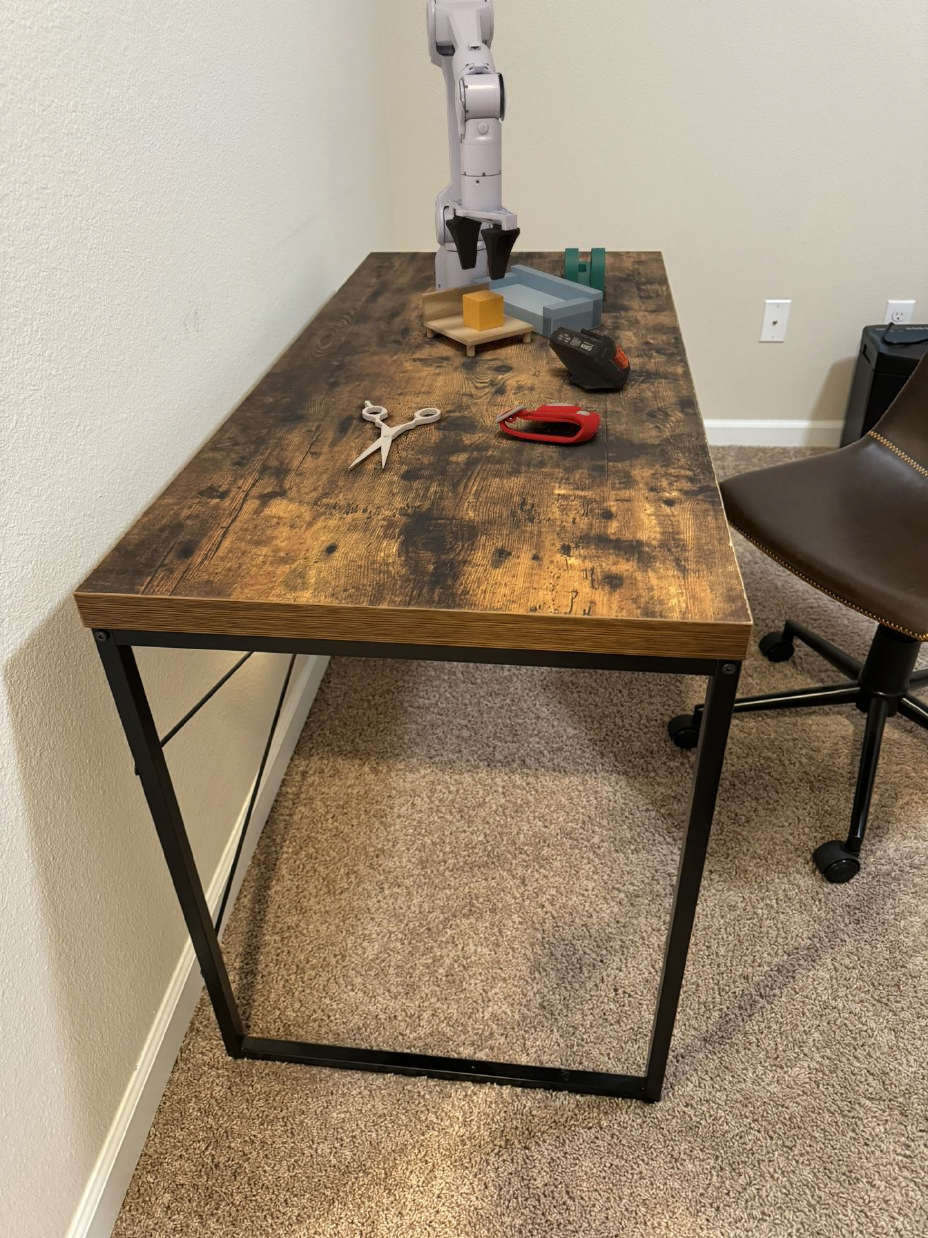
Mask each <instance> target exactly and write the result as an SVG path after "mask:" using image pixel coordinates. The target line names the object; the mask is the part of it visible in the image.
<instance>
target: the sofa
mask: <svg viewBox="0 0 928 1238" xmlns="http://www.w3.org/2000/svg"><path fill="white" fill-rule="evenodd" d="M484 281H486V282H489V291H491V292H494V293H497V294H499V295H502V296H504V314H506V315H508V316H511V317H513V318H516V319H518V320H521V321H523V322H526V323H528V324H531V325H533V326H534V331H533V332H534V333H536V334H539V335H541V336H543V337H546V338H549V339H550V335H551V334H552V332H553V331H556V330H558V328H559V327H560V326H562V327H565V328H568V329H571V330H574V331H577V332H579V333H581V329H582V328H584V329H586V330H589V331H590V330H592V329H596V328H601V327H602V313H603V301H602V296H603V292H602V291H599V290H596V289H593V288H590V287H587V286H584V285H581V284H578V283H575V282H572V281H569V280H566V279H563V277H559V276H556V275H554V274H551V273H547V272H544V271H542V270H538V269H535V268H532V267H529V266H526V265H523V264H521V263H519V264H514V265H511V266H510V272H506V273H505V277H504V278H503V279H498V280H491V279H490V275H489V276H487V277H484V278H479V279H474V280H472V284H475V283H479V282H484Z"/></svg>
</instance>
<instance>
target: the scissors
mask: <svg viewBox="0 0 928 1238" xmlns="http://www.w3.org/2000/svg"><path fill="white" fill-rule="evenodd" d="M371 413H372V414H371ZM373 413H377V414H373ZM361 415H362V418H363V419H364V420H366V421H369V422H373V423H375V427H377V428H380V429H381V431H380V437H379V438H378V439H377V440H375V441H374V442H373V443H372V444H371V445H369V447H368V448H366V450H364V451H363V452H362V453H361V454H360V455H359V456H358V457H357V458H356V459H355V460H354V461H353V462H352V463H351V464H350V465H349V467H348V469H350V468H351V467H353V466H354V465H356V464H357V463H358V462H360V461H361V460H363V459H365V458H366V457H367V456H369V455H370V454H371V453H373V452H374V451H376V450H377V449H379V448H381V449H380V450H381V462H382V463H381V464H382V469H384V468H385V464H386V462H387V459H388V456H389V453H390V450H391V446H392V441H393V440H394V439H396V438H397V437H398V436H399V435H400V434H402V433H404V432H405V431H407V430H410V429H414V428H415V427H417V426H418V425H424V424H432V423H434V422H437V421H438V420H440V418H441V410H440V409H439V408H437V407H436V408H435V407H426V408H422V409H419V410H417V411H415V412H414V413H413V420H411V421H409V422H406V423H403V424H399V425H396V426H393V427H390V426H388V425H387V424H386V423H384V422H383V421H382V420H383V419H386V418H388V416H389V415H388V410H387V409H386V408H385V407H384V406H380V405H373V404H372V403H371V400H365V401H364V408H363V409H362V412H361ZM427 415H430V416H427Z"/></svg>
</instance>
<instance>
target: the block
mask: <svg viewBox="0 0 928 1238" xmlns="http://www.w3.org/2000/svg"><path fill="white" fill-rule="evenodd" d="M463 324H464V325H466V326H468V327H471V328H473V329H475V330H477V331H484V330H488V329H492V328H497V327H501V326H504V296H502V295H499V294H497V293H494V292H491V291H489V290H483V291H479V292H474V293H469V294H464V295H463Z"/></svg>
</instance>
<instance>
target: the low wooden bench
mask: <svg viewBox="0 0 928 1238" xmlns="http://www.w3.org/2000/svg"><path fill="white" fill-rule="evenodd" d="M483 290H489V282H486V281H484V282H479V283H475V284H470V285H465V286H460V287H455V288H450V289H445V290H440V291H436V290H435V291H430V292H427V293H422V294H421V303H422V320H423V323H422V324H423V326H424V327H425V328H426V338H428V339H429V338H434V337H435V336H436V335H435V332H437V333H439V334H441V335H443V336H446V337H448V338H450V339H452V340H455V341H457V342H459V343H461V344H463V345H465V346H466V357H468V358H469V357H470V358H472V357H475V356H476V352H475V351H476V345H481V344H485V343H490V342H493V341H497V340H502V339H505V338H506V339H507V338H510V337H514V336H518V335H522V342H523V343H524V344H528V343H531V341H532V332H534V326H533V325H531V324H528V323H526V322H523V321H521V320H518V319H516V318H513V317H511V316H508V315H506V314H504V326H501V327H497V328H492V329H488V330H484V331H477V330H475V329H473V328H471V327H468V326H466V325H464V324H463V295H464V294H469V293H474V292H479V291H483Z"/></svg>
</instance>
